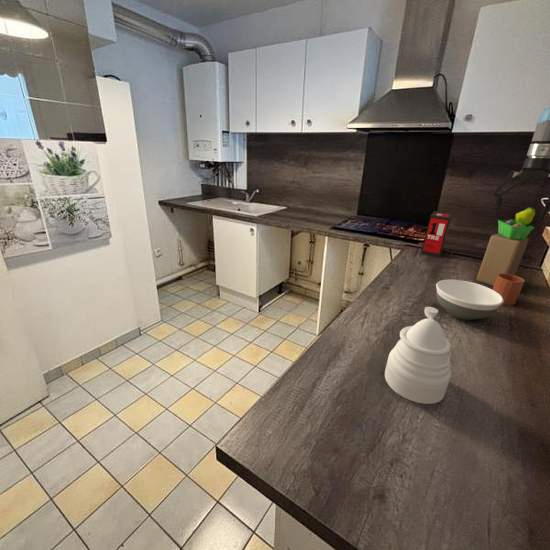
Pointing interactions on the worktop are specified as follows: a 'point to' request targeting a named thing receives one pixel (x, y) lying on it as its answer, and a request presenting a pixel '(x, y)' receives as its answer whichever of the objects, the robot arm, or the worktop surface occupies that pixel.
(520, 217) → the fruit basket
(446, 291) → the bowl
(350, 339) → the worktop surface
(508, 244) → the wooden block
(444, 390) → the honey pot
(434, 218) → the cleaning product box
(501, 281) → the terracotta plant pot
